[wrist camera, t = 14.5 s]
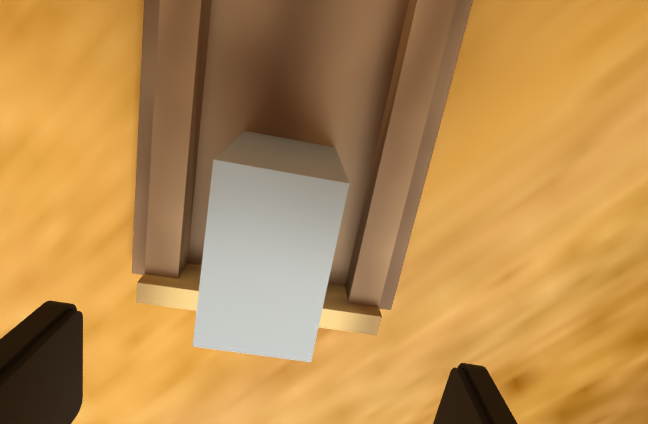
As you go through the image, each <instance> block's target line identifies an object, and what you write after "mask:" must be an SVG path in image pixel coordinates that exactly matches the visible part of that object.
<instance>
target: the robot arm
mask: <svg viewBox="0 0 648 424" xmlns="http://www.w3.org/2000/svg"><path fill="white" fill-rule="evenodd" d="M82 398H83V315H82V312H80V311H77V308H76V306H75V305H74V304H69V303H62V302H56V301H47V302H45V303H44V304H43V305H41V306H40V307H39V308H38V309H36V310H35V311H34V312H33V313H32V314H30V315H29V316H28V317H27V318H26V319H24V320H23V321H22V322H21V323H20V324H18V325H17V326H16V327H15V328H13V329H12V330H11V331H10V332H9V333H7V334H6V335H5V336H4V337H3V338H1V339H0V424H71V423H72V421H73V420H74V419H75V417H76V416H77V414H78V412H79V410H80V407H81V404H82ZM433 424H517V422H516V420H515V419H514V417H513V415H512V413H511V412H510V410H509V408H508V406H507V405H506V403H505V401H504V399H503V397H502V396H501V394H500V392H499V390H498V389H497V387H496V385H495V383H494V382H493V380H492V378H491V376H490V374H489V373H488V371H487V369H486V368H485V367H483V366H479V365H472V364H466V363H461V364H460V365H459V366H458V368H453V369H452V370H451V372H450V375H449V378H448V381H447V384H446V387H445V390H444V393H443V396H442V399H441V402H440V405H439V408H438V411H437V414H436V417H435V420H434V423H433Z"/></svg>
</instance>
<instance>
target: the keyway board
mask: <svg viewBox="0 0 648 424" xmlns="http://www.w3.org/2000/svg"><path fill="white" fill-rule="evenodd" d="M472 2H473V0H144V20H143V41H142V63H141V85H140V107H139V128H138V150H137V172H136V193H135V215H134V237H133V258H132V273H134V274H141V275H143V276H142V277H141V279H140V280H139V281H138V282H137V298H136V303H143V304H151V305H158V306H166V307H173V308H180V309H188V310H195V311H197V303H198V294H199V285H200V276H201V267H202V258H203V249H204V240H205V231H206V222H207V213H208V204H209V195H210V186H211V177H212V168H213V159H215V158H216V157H217V156H218V155H219V154H220V153H221V152H222V151H223V150H224V149H226V148H227V147H228V146H229V145H230V144H231V143H232V142H233V141H234V140H235V139H236V138H238V137H239V136H240V135H241V134H242V133H243V132H244V131H249V132H254V133H259V134H265V135H270V136H276V137H281V138H286V139H292V140H297V141H303V142H308V143H313V144H319V145H324V146H330V147H335V148H336V150H337V153H338V155H339V158H340V161H341V163H342V166H343V168H344V171H345V173H346V176H347V179H348V181H349V188H348V193H347V198H346V202H345V207H344V211H343V216H342V221H341V225H340V230H339V235H338V239H337V244H336V248H335V253H334V258H333V262H332V267H331V272H330V276H329V281H328V286H327V290H326V295H325V299H324V304H323V309H322V313H321V318H320V323H319V327H320V328H327V329H335V330H342V331H349V332H357V333H364V334H371V335H377V333H378V329H379V326H380V322H381V318H382V316H381V313H380V310H379V308H380V309H387V310H391V308H392V304H393V300H394V296H395V292H396V289H397V285H398V281H399V277H400V274H401V270H402V266H403V262H404V259H405V255H406V251H407V247H408V243H409V240H410V236H411V232H412V228H413V225H414V221H415V217H416V213H417V210H418V206H419V202H420V198H421V194H422V191H423V187H424V183H425V179H426V176H427V172H428V168H429V164H430V161H431V157H432V153H433V149H434V145H435V142H436V138H437V134H438V130H439V127H440V123H441V119H442V115H443V112H444V108H445V104H446V100H447V96H448V93H449V89H450V85H451V81H452V78H453V74H454V70H455V66H456V62H457V59H458V55H459V51H460V47H461V44H462V40H463V36H464V32H465V29H466V25H467V21H468V17H469V13H470V10H471V6H472Z"/></svg>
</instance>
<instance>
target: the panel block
mask: <svg viewBox="0 0 648 424" xmlns="http://www.w3.org/2000/svg"><path fill="white" fill-rule="evenodd" d="M348 188H349V181H348V179H347V176H346V173H345V171H344V168H343V166H342V163H341V161H340V158H339V155H338V153H337V150H336V148H335V147H330V146H324V145H319V144H313V143H308V142H303V141H297V140H292V139H286V138H281V137H276V136H270V135H265V134H259V133H254V132H249V131H244V132H243V133H242V134H241V135H240V136H239V137H238V138H236V139H235V140H234V141H233V142H232V143H231V144H230V145H229V146H228V147H227V148H226V149H224V150H223V151H222V152H221V153H220V154H219V155H218V156H217V157H216V158H215V159H213V168H212V177H211V186H210V195H209V204H208V213H207V222H206V231H205V240H204V249H203V258H202V267H201V276H200V285H199V294H198V303H197V312H196V321H195V330H194V339H193V347H201V348H208V349H216V350H223V351H231V352H238V353H245V354H253V355H260V356H268V357H275V358H283V359H290V360H298V361H305V362H311V360H312V355H313V350H314V346H315V341H316V336H317V332H318V327H319V323H320V318H321V313H322V309H323V304H324V299H325V295H326V290H327V286H328V281H329V276H330V272H331V267H332V262H333V258H334V253H335V248H336V244H337V239H338V235H339V230H340V225H341V221H342V216H343V211H344V207H345V202H346V198H347V193H348Z"/></svg>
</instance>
